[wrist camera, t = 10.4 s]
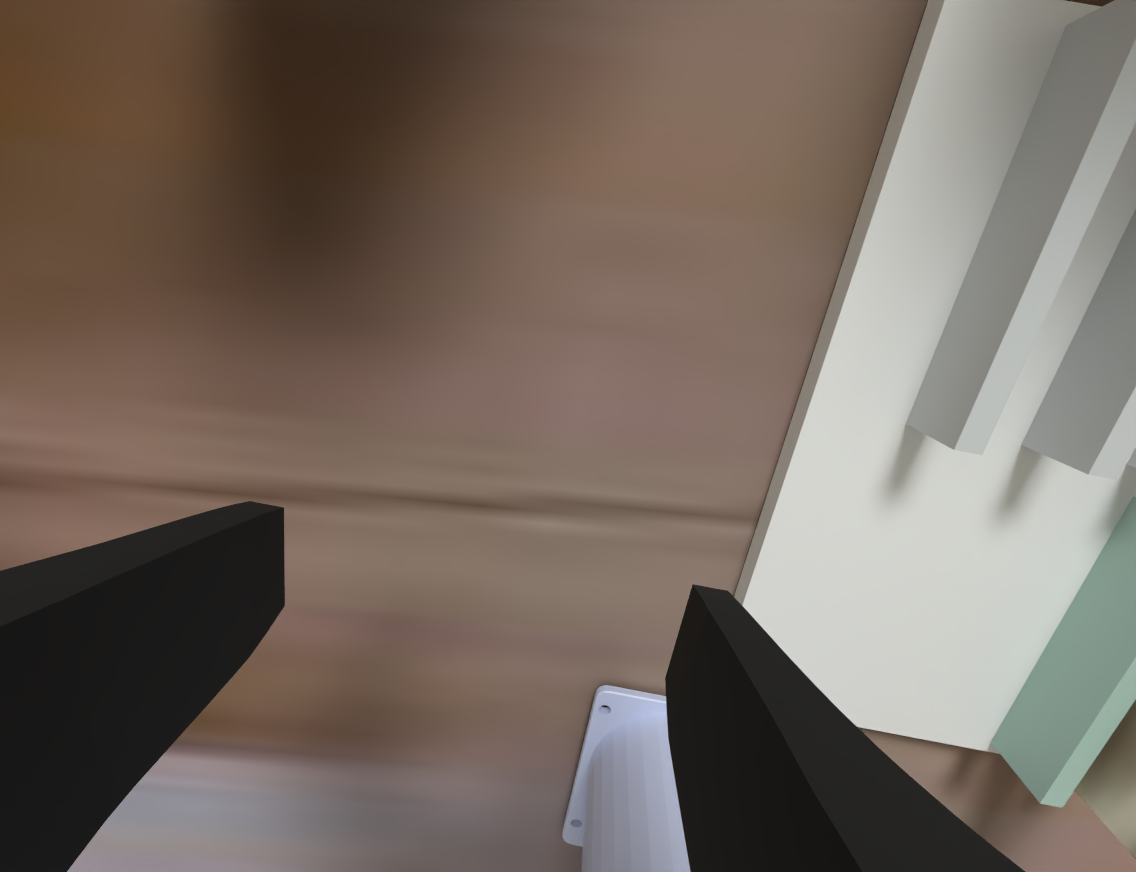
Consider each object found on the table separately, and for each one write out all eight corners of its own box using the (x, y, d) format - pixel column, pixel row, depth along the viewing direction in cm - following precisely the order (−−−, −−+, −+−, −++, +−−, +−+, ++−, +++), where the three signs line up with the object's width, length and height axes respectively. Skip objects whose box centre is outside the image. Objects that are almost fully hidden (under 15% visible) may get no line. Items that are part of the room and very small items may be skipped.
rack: (1105, 756, 22) (1194, 844, 19) (706, 680, 22) (724, 753, 19) (1550, 107, 14) (1839, 59, 11) (928, -1, 14) (1025, -80, 11)
